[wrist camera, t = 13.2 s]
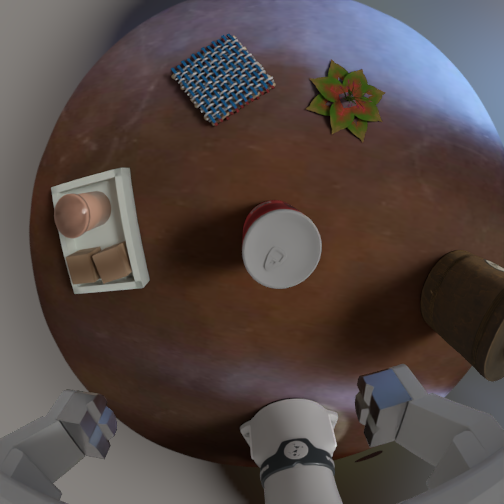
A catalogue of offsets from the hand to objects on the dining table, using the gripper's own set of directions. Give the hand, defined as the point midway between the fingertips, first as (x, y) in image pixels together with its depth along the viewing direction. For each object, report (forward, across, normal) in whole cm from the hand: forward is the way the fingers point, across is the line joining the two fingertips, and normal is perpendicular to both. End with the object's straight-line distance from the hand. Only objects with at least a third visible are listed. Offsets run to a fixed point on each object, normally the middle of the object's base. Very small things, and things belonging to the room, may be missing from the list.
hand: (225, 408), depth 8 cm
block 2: (+30, +17, +2) cm, 35 cm away
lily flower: (+32, -16, -16) cm, 39 cm away
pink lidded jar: (+30, +20, -5) cm, 37 cm away
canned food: (+31, -4, +1) cm, 32 cm away
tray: (+31, +20, -2) cm, 37 cm away
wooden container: (+31, -35, +15) cm, 49 cm away
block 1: (+30, +22, +2) cm, 38 cm away
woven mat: (+32, 0, -20) cm, 38 cm away
